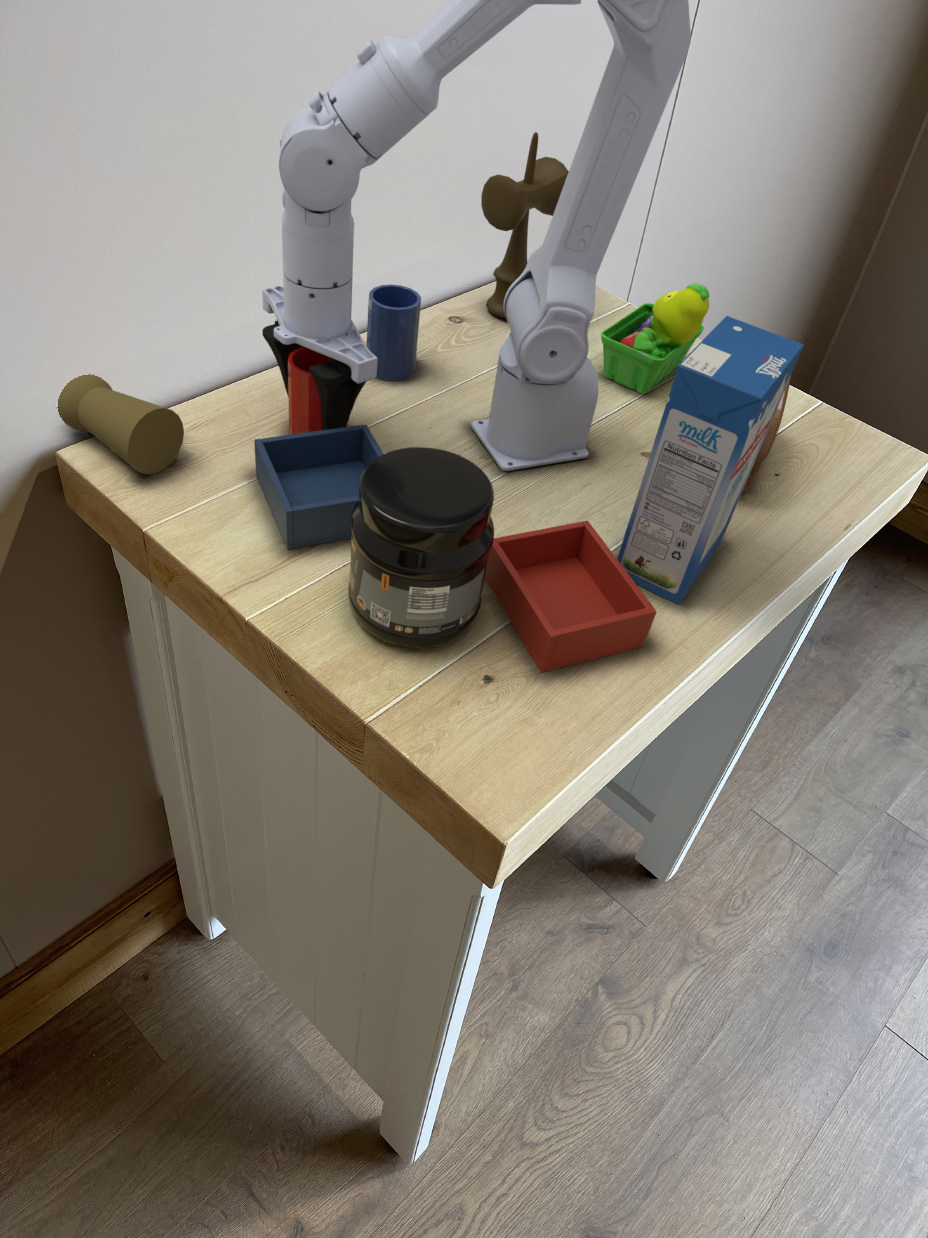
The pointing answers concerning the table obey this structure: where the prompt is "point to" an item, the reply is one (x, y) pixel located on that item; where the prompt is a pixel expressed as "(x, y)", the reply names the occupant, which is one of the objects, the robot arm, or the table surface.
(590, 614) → the red bin
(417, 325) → the blue cup
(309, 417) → the red cup
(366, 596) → the supplement container
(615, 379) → the fruit basket
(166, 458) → the olive brown flared cylinder
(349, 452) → the blue bin
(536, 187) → the kendama
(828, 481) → the table surface
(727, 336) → the milk carton
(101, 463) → the table surface
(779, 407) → the tin
